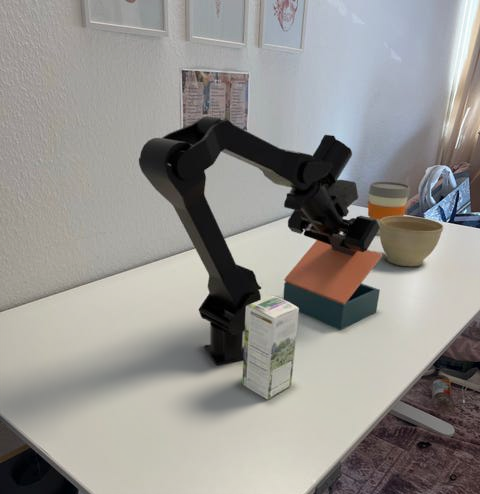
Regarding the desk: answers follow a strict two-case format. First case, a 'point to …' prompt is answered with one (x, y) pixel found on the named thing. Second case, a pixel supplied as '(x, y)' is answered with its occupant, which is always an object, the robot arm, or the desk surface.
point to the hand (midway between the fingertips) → (346, 247)
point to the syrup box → (269, 345)
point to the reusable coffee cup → (387, 200)
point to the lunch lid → (332, 269)
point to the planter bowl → (409, 239)
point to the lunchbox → (334, 305)
